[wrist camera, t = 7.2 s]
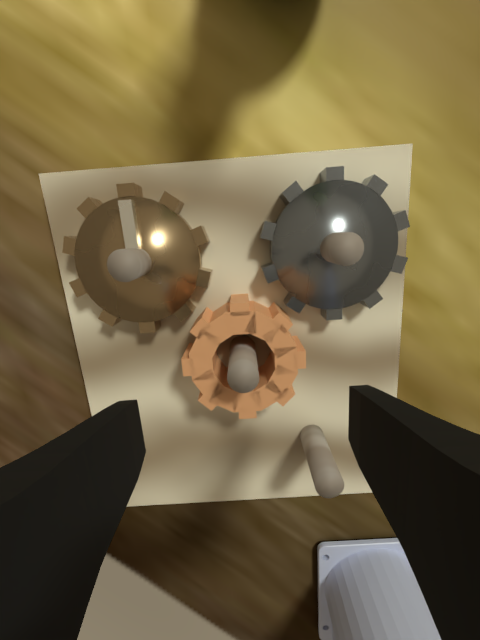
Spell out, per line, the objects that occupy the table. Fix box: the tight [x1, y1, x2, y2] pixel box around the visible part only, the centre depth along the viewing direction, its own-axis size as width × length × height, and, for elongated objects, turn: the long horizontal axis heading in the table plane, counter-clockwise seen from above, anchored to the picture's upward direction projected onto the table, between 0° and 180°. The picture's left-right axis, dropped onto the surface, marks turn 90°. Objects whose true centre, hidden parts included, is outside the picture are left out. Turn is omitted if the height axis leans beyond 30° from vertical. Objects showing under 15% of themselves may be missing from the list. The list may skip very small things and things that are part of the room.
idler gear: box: [181, 293, 306, 419], centre depth 16 cm, size 6×6×2 cm
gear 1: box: [62, 183, 213, 333], centre depth 15 cm, size 7×7×2 cm
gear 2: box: [259, 166, 410, 320], centre depth 15 cm, size 7×7×1 cm
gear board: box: [39, 144, 413, 507], centre depth 16 cm, size 20×18×5 cm
